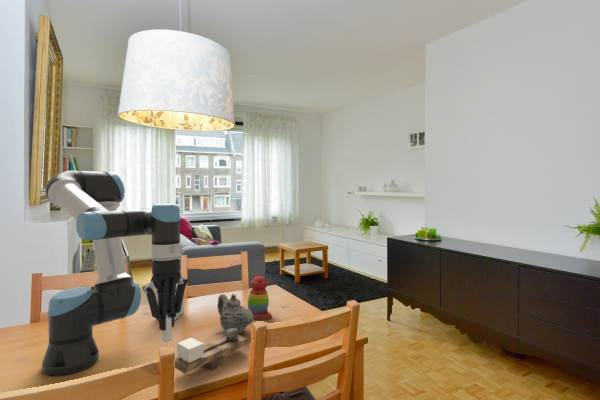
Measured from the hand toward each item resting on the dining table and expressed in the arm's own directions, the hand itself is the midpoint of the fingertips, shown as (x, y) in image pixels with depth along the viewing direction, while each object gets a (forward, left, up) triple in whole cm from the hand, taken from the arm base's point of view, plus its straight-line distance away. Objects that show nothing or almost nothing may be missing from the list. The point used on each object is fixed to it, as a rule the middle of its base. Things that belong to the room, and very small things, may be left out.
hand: (166, 339), depth 98 cm
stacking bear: (+55, +18, -14) cm, 60 cm away
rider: (+8, 0, -10) cm, 13 cm away
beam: (+16, 0, -13) cm, 21 cm away
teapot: (+37, +14, -14) cm, 42 cm away
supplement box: (+29, +47, -14) cm, 57 cm away
